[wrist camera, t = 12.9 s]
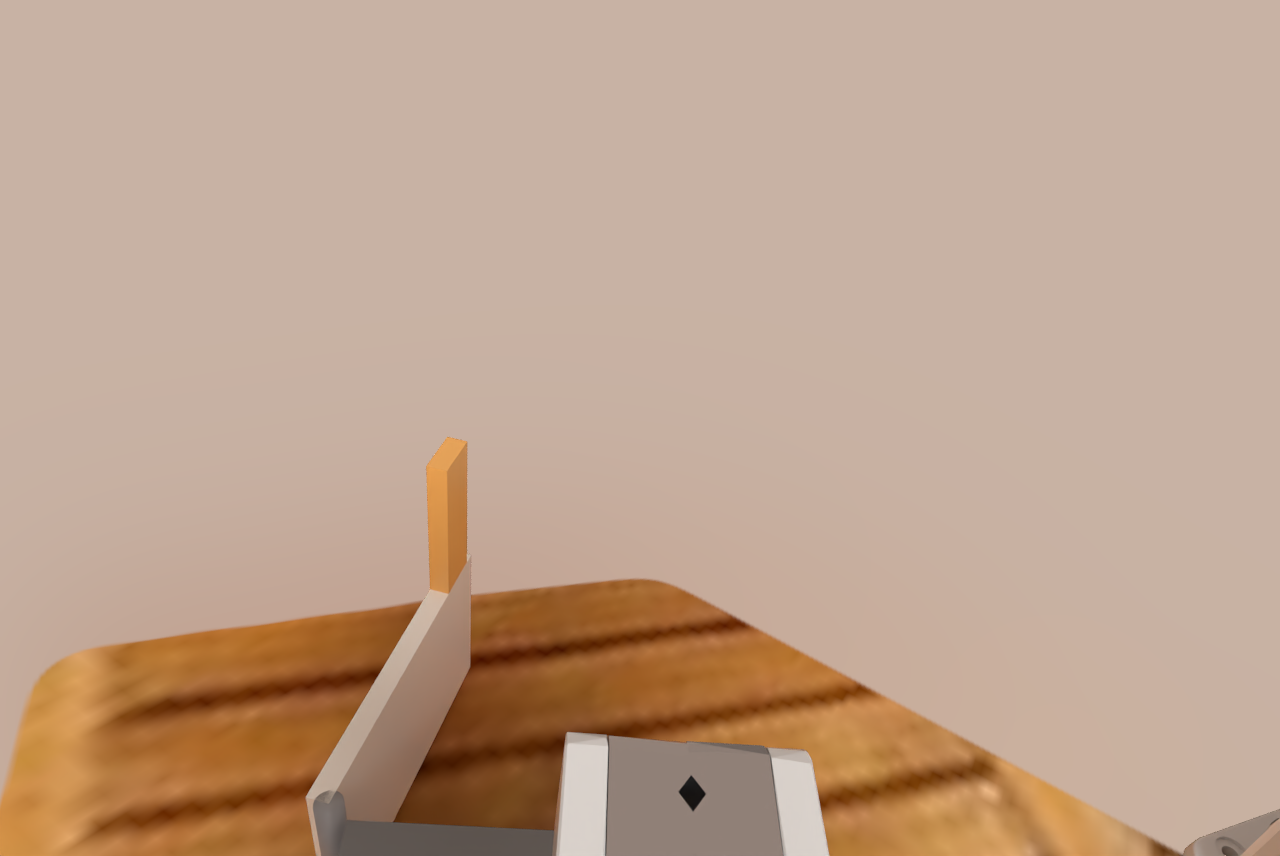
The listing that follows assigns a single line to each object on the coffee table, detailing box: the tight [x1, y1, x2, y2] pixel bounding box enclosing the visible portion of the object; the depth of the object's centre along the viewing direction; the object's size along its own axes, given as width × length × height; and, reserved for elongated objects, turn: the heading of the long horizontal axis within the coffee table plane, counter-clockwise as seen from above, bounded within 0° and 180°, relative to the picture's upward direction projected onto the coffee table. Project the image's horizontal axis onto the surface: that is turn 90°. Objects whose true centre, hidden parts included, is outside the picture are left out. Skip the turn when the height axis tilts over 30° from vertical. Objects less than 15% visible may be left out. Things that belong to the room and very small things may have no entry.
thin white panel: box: [306, 437, 471, 856], centre depth 42 cm, size 2×16×17 cm, turn 167°
